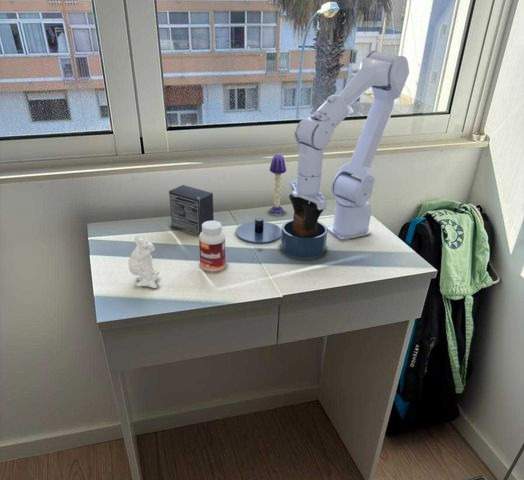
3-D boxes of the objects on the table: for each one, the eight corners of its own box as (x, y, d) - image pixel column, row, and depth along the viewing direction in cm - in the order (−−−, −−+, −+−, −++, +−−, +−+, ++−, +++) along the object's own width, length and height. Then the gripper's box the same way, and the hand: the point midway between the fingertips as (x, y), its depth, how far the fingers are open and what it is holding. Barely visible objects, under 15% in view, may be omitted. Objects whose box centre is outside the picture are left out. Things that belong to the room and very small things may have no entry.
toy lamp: (283, 216, 151) (287, 159, 141) (268, 216, 151) (270, 158, 141) (283, 210, 155) (286, 153, 144) (268, 209, 155) (270, 153, 144)
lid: (269, 222, 148) (269, 206, 145) (290, 240, 139) (291, 224, 136) (228, 229, 143) (228, 213, 141) (247, 249, 135) (248, 232, 132)
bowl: (310, 236, 142) (312, 215, 138) (333, 254, 134) (336, 233, 130) (273, 243, 138) (274, 223, 134) (294, 263, 130) (296, 242, 126)
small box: (215, 228, 144) (214, 192, 137) (201, 237, 139) (199, 200, 133) (185, 219, 148) (183, 183, 141) (170, 227, 144) (167, 190, 137)
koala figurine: (165, 288, 118) (160, 241, 111) (136, 294, 116) (129, 246, 109) (156, 271, 124) (151, 225, 117) (128, 276, 122) (121, 229, 115)
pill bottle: (197, 271, 125) (195, 229, 118) (203, 259, 130) (201, 218, 123) (223, 273, 125) (222, 231, 118) (227, 261, 129) (227, 220, 123)
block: (307, 226, 135) (308, 210, 132) (316, 233, 132) (318, 217, 129) (292, 229, 133) (293, 213, 130) (301, 237, 130) (302, 220, 127)
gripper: (280, 165, 127) (277, 217, 135) (310, 185, 117) (305, 240, 125) (305, 161, 129) (301, 213, 138) (336, 181, 119) (330, 235, 128)
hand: (304, 225), depth 132 cm, fingers closed on block, 4 cm apart
